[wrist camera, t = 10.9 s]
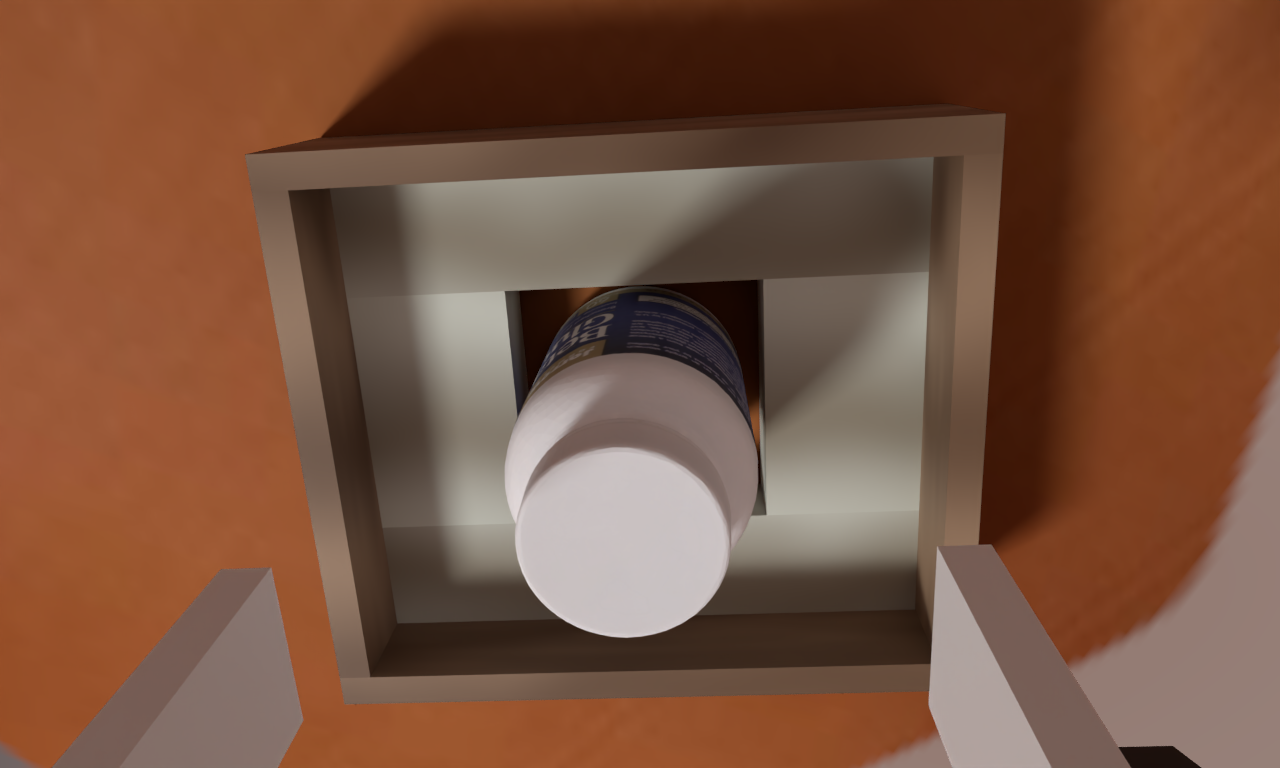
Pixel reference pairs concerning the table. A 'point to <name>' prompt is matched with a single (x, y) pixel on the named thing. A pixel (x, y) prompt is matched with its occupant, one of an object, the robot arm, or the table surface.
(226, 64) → the table surface
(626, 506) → the pill bottle
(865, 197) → the box
